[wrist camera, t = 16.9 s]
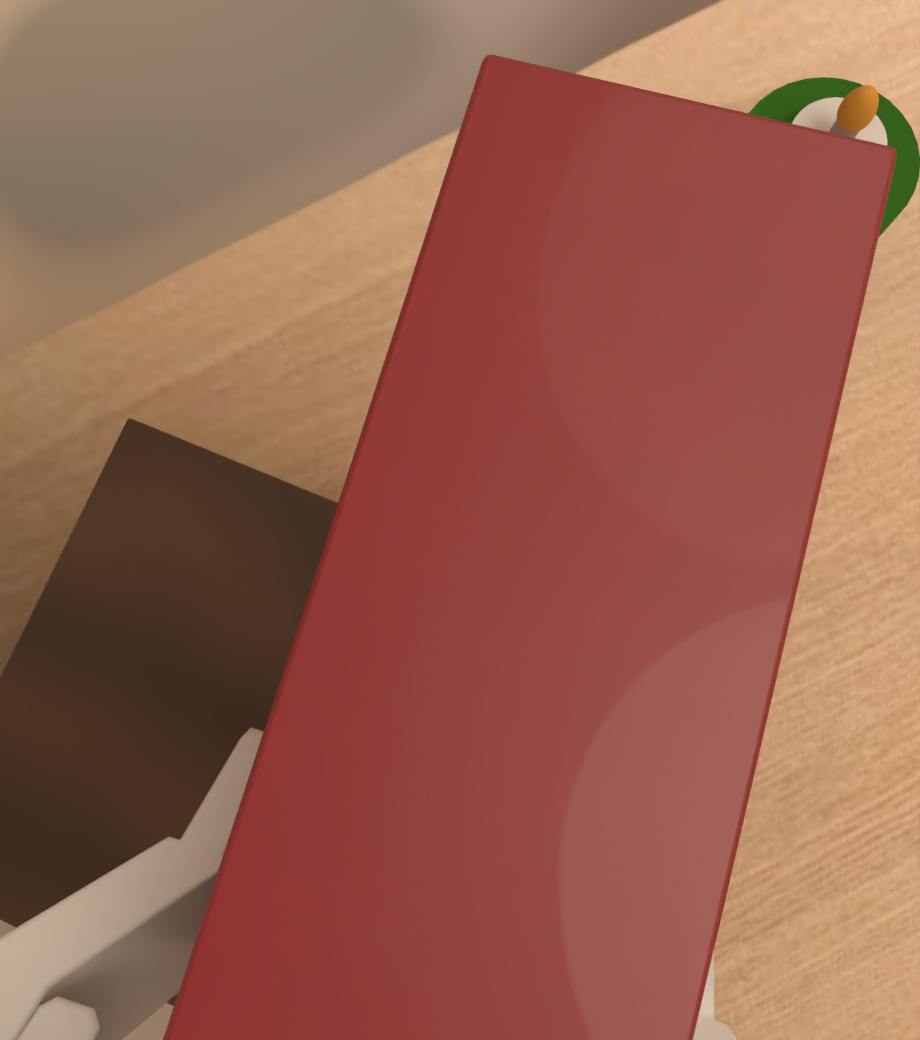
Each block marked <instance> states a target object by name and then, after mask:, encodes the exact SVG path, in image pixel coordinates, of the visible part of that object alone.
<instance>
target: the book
mask: <svg viewBox="0 0 920 1040" xmlns="http://www.w3.org/2000/svg"><path fill="white" fill-rule="evenodd" d="M896 159H897V150H896V149H895V148H893V147H891V146H887V145H882V144H878V143H874V142H869V141H865V140H861V139H856V138H852V137H847V136H843V135H839V134H834V133H830V132H826V131H821V130H817V129H813V128H808V127H804V126H800V125H795V124H791V123H787V122H782V121H778V120H774V119H769V118H765V117H761V116H756V115H752V114H748V113H743V112H739V111H735V110H730V109H726V108H721V107H717V106H713V105H708V104H704V103H700V102H695V101H691V100H687V99H682V98H678V97H674V96H669V95H665V94H661V93H656V92H652V91H648V90H643V89H639V88H635V87H630V86H626V85H622V84H617V83H613V82H609V81H604V80H600V79H595V78H591V77H587V76H582V75H578V74H574V73H569V72H565V71H560V70H556V69H552V68H547V67H543V66H539V65H535V64H530V63H525V62H521V61H517V60H513V59H508V58H504V57H500V56H496V55H487V56H486V57H485V58H484V60H483V62H482V64H481V67H480V70H479V73H478V77H477V80H476V82H475V85H474V89H473V92H472V95H471V98H470V101H469V104H468V107H467V110H466V113H465V116H464V119H463V122H462V125H461V128H460V131H459V134H458V138H457V141H456V144H455V147H454V150H453V153H452V156H451V159H450V162H449V165H448V168H447V171H446V174H445V177H444V180H443V183H442V187H441V190H440V193H439V196H438V199H437V202H436V205H435V208H434V211H433V214H432V217H431V220H430V223H429V226H428V229H427V233H426V236H425V239H424V242H423V245H422V248H421V251H420V254H419V257H418V260H417V263H416V266H415V269H414V272H413V275H412V278H411V282H410V285H409V288H408V291H407V294H406V297H405V300H404V303H403V306H402V309H401V312H400V315H399V318H398V321H397V324H396V328H395V331H394V334H393V337H392V340H391V343H390V346H389V349H388V352H387V355H386V358H385V361H384V364H383V367H382V370H381V373H380V377H379V380H378V383H377V386H376V389H375V392H374V395H373V398H372V401H371V404H370V407H369V410H368V413H367V416H366V419H365V422H364V426H363V429H362V432H361V435H360V438H359V441H358V444H357V447H356V450H355V453H354V456H353V459H352V462H351V465H350V468H349V472H348V475H347V478H346V481H345V484H344V487H343V490H342V493H341V496H340V499H339V502H338V505H337V508H336V511H335V514H334V517H333V521H332V524H331V527H330V530H329V533H328V536H327V539H326V542H325V545H324V548H323V551H322V554H321V557H320V560H319V563H318V567H317V570H316V573H315V576H314V579H313V582H312V585H311V588H310V591H309V594H308V597H307V600H306V603H305V606H304V609H303V612H302V616H301V619H300V622H299V625H298V628H297V631H296V634H295V637H294V640H293V643H292V646H291V649H290V652H289V655H288V658H287V661H286V665H285V668H284V671H283V674H282V677H281V680H280V683H279V686H278V689H277V692H276V695H275V698H274V701H273V704H272V707H271V711H270V714H269V717H268V720H267V723H266V726H265V729H264V732H263V735H262V738H261V741H260V744H259V747H258V750H257V753H256V756H255V760H254V763H253V766H252V769H251V772H250V775H249V778H248V781H247V784H246V787H245V790H244V793H243V796H242V799H241V802H240V806H239V809H238V812H237V815H236V818H235V821H234V824H233V827H232V830H231V833H230V836H229V839H228V842H227V845H226V848H225V851H224V855H223V858H222V861H221V864H220V867H219V870H218V873H217V876H216V879H215V882H214V885H213V888H212V891H211V894H210V897H209V900H208V904H207V907H206V910H205V913H204V916H203V919H202V922H201V925H200V928H199V931H198V934H197V937H196V940H195V943H194V946H193V950H192V953H191V956H190V959H189V962H188V965H187V968H186V971H185V974H184V977H183V980H182V983H181V986H180V989H179V992H178V995H177V999H176V1002H175V1005H174V1008H173V1011H172V1014H171V1017H170V1020H169V1023H168V1027H167V1030H166V1033H165V1035H164V1038H163V1040H693V1037H694V1033H695V1029H696V1024H697V1020H698V1016H699V1011H700V1007H701V1003H702V998H703V994H704V990H705V985H706V981H707V977H708V972H709V968H710V964H711V959H712V955H713V951H714V946H715V942H716V938H717V933H718V929H719V925H720V920H721V916H722V912H723V907H724V903H725V899H726V894H727V890H728V886H729V881H730V877H731V873H732V869H733V864H734V860H735V856H736V851H737V847H738V843H739V838H740V834H741V830H742V825H743V821H744V817H745V812H746V808H747V804H748V799H749V795H750V791H751V786H752V782H753V778H754V773H755V769H756V765H757V760H758V756H759V752H760V747H761V743H762V739H763V734H764V730H765V726H766V721H767V717H768V713H769V708H770V704H771V700H772V695H773V691H774V687H775V682H776V678H777V674H778V669H779V665H780V661H781V656H782V652H783V648H784V643H785V639H786V635H787V630H788V626H789V622H790V617H791V613H792V609H793V604H794V600H795V596H796V591H797V587H798V583H799V579H800V574H801V570H802V566H803V561H804V557H805V553H806V548H807V544H808V540H809V535H810V531H811V527H812V522H813V518H814V514H815V509H816V505H817V501H818V496H819V492H820V488H821V483H822V479H823V475H824V470H825V466H826V462H827V457H828V453H829V449H830V444H831V440H832V436H833V431H834V427H835V423H836V418H837V414H838V410H839V405H840V401H841V397H842V392H843V388H844V384H845V379H846V375H847V371H848V366H849V362H850V358H851V353H852V349H853V345H854V340H855V336H856V332H857V327H858V323H859V319H860V314H861V310H862V306H863V302H864V297H865V293H866V289H867V284H868V280H869V276H870V271H871V267H872V263H873V258H874V254H875V250H876V245H877V241H878V237H879V232H880V228H881V224H882V219H883V215H884V211H885V206H886V202H887V198H888V193H889V189H890V185H891V180H892V176H893V172H894V167H895V163H896Z"/></svg>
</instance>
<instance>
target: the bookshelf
mask: <svg viewBox="0 0 920 1040" xmlns="http://www.w3.org/2000/svg"><path fill="white" fill-rule="evenodd" d="M337 505H338V503H336V502H334V501H331V500H329V499H327V498H324V497H322V496H319V495H317V494H314V493H312V492H309V491H307V490H305V489H302V488H300V487H297V486H295V485H292V484H290V483H287V482H285V481H283V480H280V479H278V478H275V477H273V476H270V475H268V474H265V473H263V472H261V471H258V470H256V469H253V468H251V467H248V466H246V465H243V464H241V463H238V462H236V461H234V460H231V459H229V458H226V457H224V456H221V455H219V454H216V453H214V452H212V451H209V450H207V449H204V448H202V447H199V446H197V445H194V444H192V443H190V442H187V441H185V440H182V439H180V438H177V437H175V436H172V435H170V434H168V433H165V432H163V431H160V430H158V429H155V428H153V427H150V426H148V425H146V424H143V423H141V422H138V421H136V420H133V419H128V420H127V422H126V424H125V426H124V428H123V430H122V432H121V434H120V436H119V438H118V440H117V442H116V444H115V446H114V448H113V450H112V452H111V454H110V456H109V458H108V460H107V462H106V464H105V466H104V468H103V470H102V472H101V474H100V476H99V478H98V480H97V483H96V485H95V487H94V489H93V491H92V493H91V495H90V497H89V499H88V501H87V503H86V505H85V507H84V509H83V511H82V513H81V515H80V517H79V519H78V521H77V523H76V525H75V527H74V529H73V531H72V533H71V535H70V537H69V539H68V541H67V543H66V545H65V547H64V549H63V551H62V554H61V556H60V558H59V560H58V562H57V564H56V566H55V568H54V570H53V572H52V574H51V576H50V578H49V580H48V582H47V584H46V586H45V588H44V590H43V592H42V594H41V596H40V598H39V600H38V602H37V604H36V606H35V608H34V610H33V612H32V614H31V616H30V618H29V620H28V622H27V624H26V627H25V629H24V631H23V633H22V635H21V637H20V639H19V641H18V643H17V645H16V647H15V649H14V651H13V653H12V655H11V657H10V659H9V661H8V663H7V665H6V667H5V669H4V671H3V673H2V675H1V677H0V919H1V920H2V921H4V922H6V923H8V924H10V925H12V926H14V927H16V928H17V927H18V926H20V925H22V924H23V923H25V922H27V921H28V920H30V919H32V918H33V917H35V916H37V915H38V914H40V913H42V912H43V911H45V910H47V909H48V908H50V907H52V906H53V905H55V904H57V903H58V902H60V901H62V900H63V899H65V898H67V897H68V896H70V895H72V894H73V893H75V892H77V891H78V890H80V889H82V888H83V887H85V886H87V885H88V884H90V883H92V882H93V881H95V880H97V879H98V878H100V877H102V876H103V875H105V874H107V873H108V872H110V871H112V870H113V869H115V868H117V867H118V866H120V865H122V864H123V863H125V862H127V861H128V860H130V859H132V858H133V857H135V856H137V855H138V854H140V853H142V852H143V851H145V850H147V849H148V848H150V847H152V846H153V845H155V844H157V843H158V842H160V841H162V840H163V839H165V838H167V837H168V836H169V837H173V838H176V839H181V837H182V836H183V834H184V832H185V831H186V829H187V827H188V826H189V824H190V822H191V821H192V819H193V817H194V816H195V814H196V812H197V810H198V809H199V807H200V805H201V804H202V802H203V800H204V799H205V797H206V795H207V794H208V792H209V790H210V789H211V787H212V785H213V783H214V782H215V780H216V778H217V777H218V775H219V773H220V772H221V770H222V768H223V767H224V765H225V763H226V762H227V760H228V758H229V756H230V755H231V753H232V751H233V750H234V748H235V746H236V745H237V743H238V741H239V740H240V738H241V737H242V736H243V735H244V734H245V733H246V732H247V731H248V730H249V729H250V728H254V729H257V730H261V731H264V729H265V726H266V723H267V720H268V717H269V714H270V711H271V707H272V704H273V701H274V698H275V695H276V692H277V689H278V686H279V683H280V680H281V677H282V674H283V671H284V668H285V665H286V661H287V658H288V655H289V652H290V649H291V646H292V643H293V640H294V637H295V634H296V631H297V628H298V625H299V622H300V619H301V616H302V612H303V609H304V606H305V603H306V600H307V597H308V594H309V591H310V588H311V585H312V582H313V579H314V576H315V573H316V570H317V567H318V563H319V560H320V557H321V554H322V551H323V548H324V545H325V542H326V539H327V536H328V533H329V530H330V527H331V524H332V521H333V517H334V514H335V511H336V508H337ZM177 995H178V993H177V994H176V995H175V996H174V997H172V998H171V999H170V1000H169V1001H168V1002H167V1003H169V1004H171V1005H173V1006H174V1005H175V1002H176V999H177Z"/></svg>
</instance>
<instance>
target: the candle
mask: <svg viewBox="0 0 920 1040" xmlns="http://www.w3.org/2000/svg"><path fill="white" fill-rule="evenodd" d="M749 114H752V115H756V116H761V117H765V118H769V119H774V120H778V121H782V122H787V123H791V124H795V125H800V126H804V127H808V128H813V129H817V130H821V131H826V132H830V133H834V134H839V135H843V136H847V137H852V138H856V139H861V140H865V141H869V142H874V143H878V144H882V145H887V146H891V147H893V148H895V149H896V150H897V159H896V163H895V167H894V172H893V176H892V180H891V185H890V189H889V193H888V198H887V202H886V206H885V211H884V215H883V219H882V224H881V228H880V232H879V236H880V235H881V234H882V233H883V232H884V231H885V229H886V228H887V227H888V226H889V225H890V224H891V223H892V222H893V220H894V219H895V218H896V217H897V216H898V215H899V214H900V212H901V211H902V210H903V209H904V208H905V207H906V206H907V204H908V202H909V200H910V198H911V197H912V195H913V193H914V191H915V188H916V184H917V181H918V177H919V169H920V156H919V150H918V144H917V141H916V138H915V136H914V133H913V131H912V128H911V126H910V125H909V123H908V122H907V120H906V119H905V117H904V116H903V114H902V113H901V112H900V111H899V110H898V109H897V108H896V107H895V106H894V105H893V104H892V103H891V102H890V101H889V100H888V99H886V98H885V97H883V96H882V95H880V94H879V93H878V92H877V91H876V89H875V88H874V87H873V86H870V85H864V86H863V85H861V84H859V83H855V82H851V81H848V80H844V79H837V78H825V77H822V78H810V79H804V80H800V81H796V82H792V83H789V84H787V85H785V86H782V87H780V88H778V89H776V90H774V91H772V92H771V93H770V94H768V95H767V96H766V97H764V98H763V99H762V100H760V101H759V102H758V103H757V105H756V106H755V107H754V108H753V109H752V110H751V111H750V112H749Z"/></svg>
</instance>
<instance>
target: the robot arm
mask: <svg viewBox="0 0 920 1040" xmlns="http://www.w3.org/2000/svg"><path fill="white" fill-rule="evenodd" d="M263 732H264V731H261V730H257V729H254V728H250V729H249V730H248V731H247V732H246V733H245V734H244V735H243V736H242V737H241V738H240V740H239V741H238V743H237V745H236V746H235V748H234V750H233V751H232V753H231V755H230V756H229V758H228V760H227V762H226V763H225V765H224V767H223V768H222V770H221V772H220V773H219V775H218V777H217V778H216V780H215V782H214V783H213V785H212V787H211V789H210V790H209V792H208V794H207V795H206V797H205V799H204V800H203V802H202V804H201V805H200V807H199V809H198V810H197V812H196V814H195V816H194V817H193V819H192V821H191V822H190V824H189V826H188V827H187V829H186V831H185V832H184V834H183V836H182V837H181V839H176V838H173V837H169V836H168V837H167V838H165V839H163V840H162V841H160V842H158V843H157V844H155V845H153V846H152V847H150V848H148V849H147V850H145V851H143V852H142V853H140V854H138V855H137V856H135V857H133V858H132V859H130V860H128V861H127V862H125V863H123V864H122V865H120V866H118V867H117V868H115V869H113V870H112V871H110V872H108V873H107V874H105V875H103V876H102V877H100V878H98V879H97V880H95V881H93V882H92V883H90V884H88V885H87V886H85V887H83V888H82V889H80V890H78V891H77V892H75V893H73V894H72V895H70V896H68V897H67V898H65V899H63V900H62V901H60V902H58V903H57V904H55V905H53V906H52V907H50V908H48V909H47V910H45V911H43V912H42V913H40V914H38V915H37V916H35V917H33V918H32V919H30V920H28V921H27V922H25V923H23V924H22V925H20V926H18V927H17V928H15V929H13V930H12V931H10V932H8V933H7V934H5V935H3V936H2V937H0V1040H122V1039H123V1038H124V1037H125V1036H126V1035H128V1034H129V1033H130V1032H131V1031H132V1030H134V1029H135V1028H136V1027H137V1026H139V1025H140V1024H141V1023H142V1022H143V1021H145V1020H146V1019H147V1018H148V1017H149V1016H151V1015H152V1014H153V1013H154V1012H155V1011H157V1010H158V1009H159V1008H160V1007H161V1006H163V1005H164V1004H165V1003H166V1002H168V1001H169V1000H170V999H171V998H172V997H174V996H175V995H176V994H177V993H178V992H179V989H180V986H181V983H182V980H183V977H184V974H185V971H186V968H187V965H188V962H189V959H190V956H191V953H192V950H193V946H194V943H195V940H196V937H197V934H198V931H199V928H200V925H201V922H202V919H203V916H204V913H205V910H206V907H207V904H208V900H209V897H210V894H211V891H212V888H213V885H214V882H215V879H216V876H217V873H218V870H219V867H220V864H221V861H222V858H223V855H224V851H225V848H226V845H227V842H228V839H229V836H230V833H231V830H232V827H233V824H234V821H235V818H236V815H237V812H238V809H239V806H240V802H241V799H242V796H243V793H244V790H245V787H246V784H247V781H248V778H249V775H250V772H251V769H252V766H253V763H254V760H255V756H256V753H257V750H258V747H259V744H260V741H261V738H262V735H263ZM693 1040H737V1039H736V1037H735V1035H734V1033H733V1031H732V1029H731V1027H730V1026H729V1024H728V1023H726V1022H723V1021H721V1020H718V1019H716V1018H715V977H714V951H713V955H712V959H711V964H710V968H709V972H708V977H707V981H706V985H705V990H704V994H703V998H702V1003H701V1007H700V1011H699V1016H698V1020H697V1024H696V1029H695V1033H694V1037H693Z"/></svg>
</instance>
